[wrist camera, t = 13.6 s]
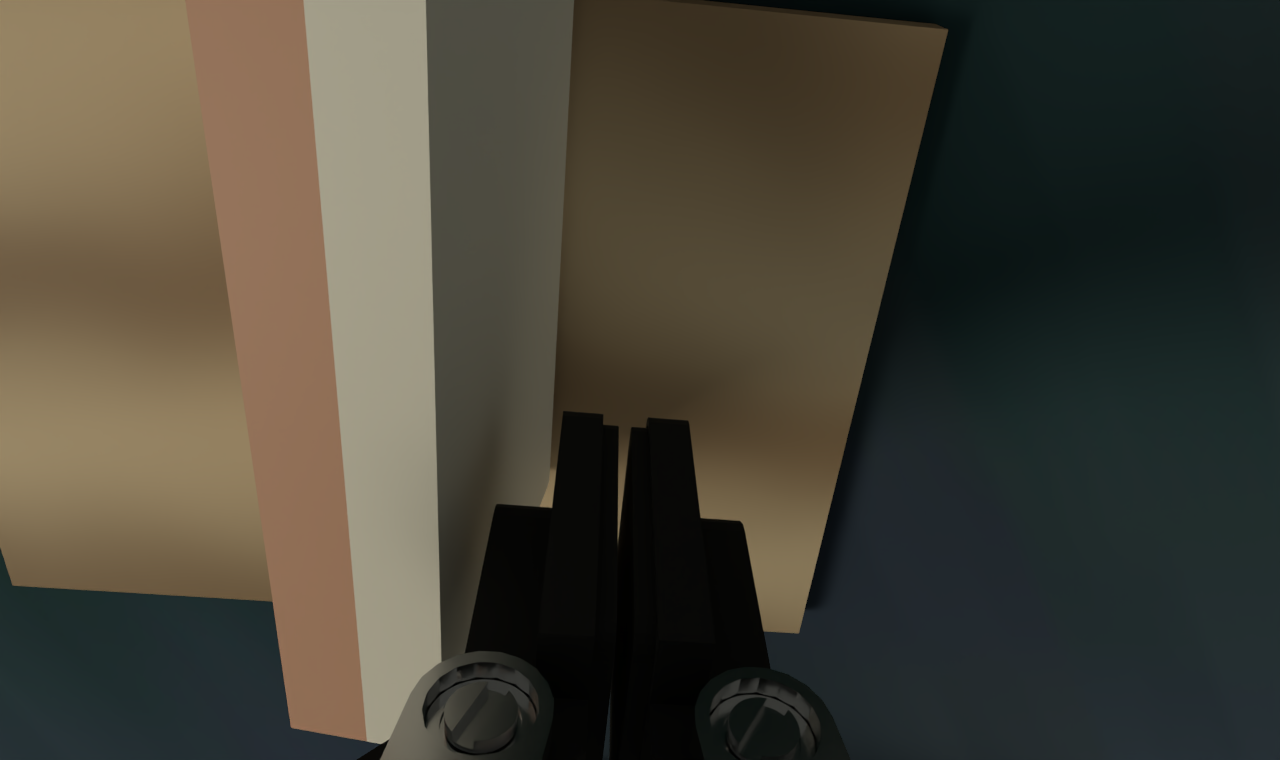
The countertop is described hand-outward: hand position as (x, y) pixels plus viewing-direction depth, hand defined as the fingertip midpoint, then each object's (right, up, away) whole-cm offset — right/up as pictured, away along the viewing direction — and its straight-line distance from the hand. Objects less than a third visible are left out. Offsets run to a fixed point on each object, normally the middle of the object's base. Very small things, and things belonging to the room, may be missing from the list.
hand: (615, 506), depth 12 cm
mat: (-4, +2, +4) cm, 6 cm away
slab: (-2, +4, +2) cm, 5 cm away
